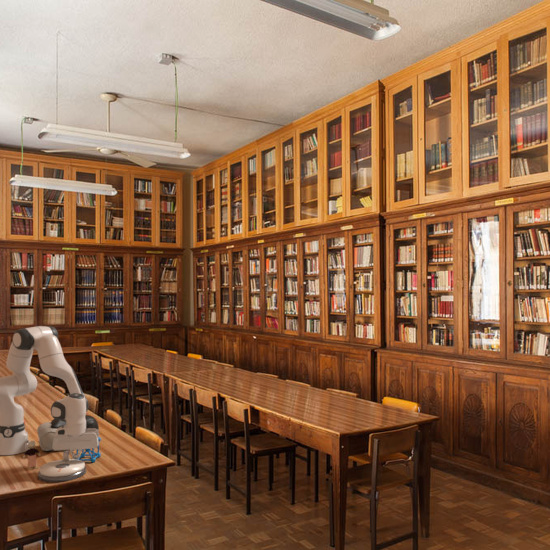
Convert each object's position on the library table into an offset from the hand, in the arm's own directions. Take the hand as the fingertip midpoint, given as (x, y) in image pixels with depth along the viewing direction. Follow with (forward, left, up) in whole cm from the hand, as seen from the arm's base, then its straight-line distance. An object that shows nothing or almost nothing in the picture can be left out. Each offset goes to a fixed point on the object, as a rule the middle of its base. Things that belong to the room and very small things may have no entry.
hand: (75, 458), depth 245 cm
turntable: (+7, -4, -2) cm, 9 cm away
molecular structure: (-12, +4, -5) cm, 13 cm away
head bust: (-36, -10, -5) cm, 37 cm away
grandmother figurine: (-4, -20, -5) cm, 21 cm away
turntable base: (+7, -4, -4) cm, 10 cm away
